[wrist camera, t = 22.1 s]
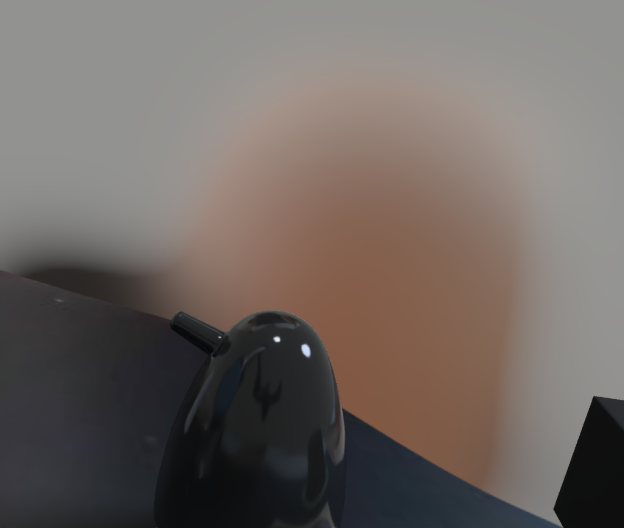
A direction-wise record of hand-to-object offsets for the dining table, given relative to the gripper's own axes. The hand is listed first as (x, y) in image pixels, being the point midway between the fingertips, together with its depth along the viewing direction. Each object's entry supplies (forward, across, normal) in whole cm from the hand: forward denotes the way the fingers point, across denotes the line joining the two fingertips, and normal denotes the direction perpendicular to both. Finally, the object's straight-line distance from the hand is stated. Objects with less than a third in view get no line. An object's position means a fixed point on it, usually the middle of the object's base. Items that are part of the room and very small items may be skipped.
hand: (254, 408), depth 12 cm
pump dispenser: (+17, 0, -20) cm, 26 cm away
